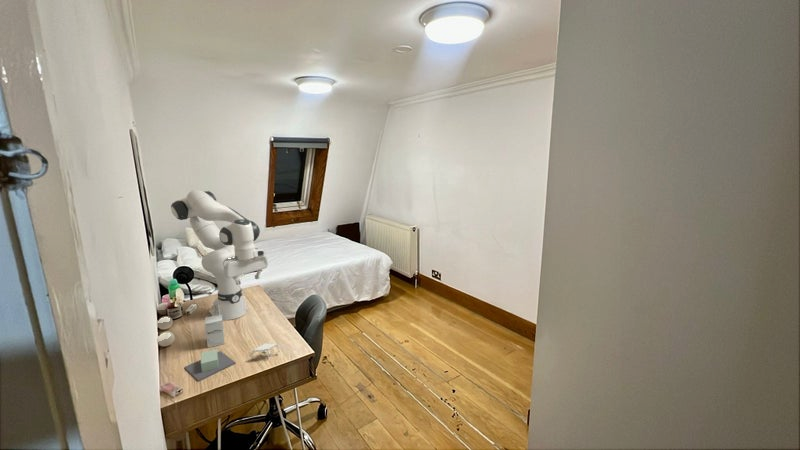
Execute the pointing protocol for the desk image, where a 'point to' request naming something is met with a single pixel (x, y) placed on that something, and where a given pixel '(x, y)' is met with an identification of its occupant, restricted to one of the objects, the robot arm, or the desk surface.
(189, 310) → the desk surface
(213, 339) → the supplement box
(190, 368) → the rubber mat
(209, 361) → the card box
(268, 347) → the origami figure
